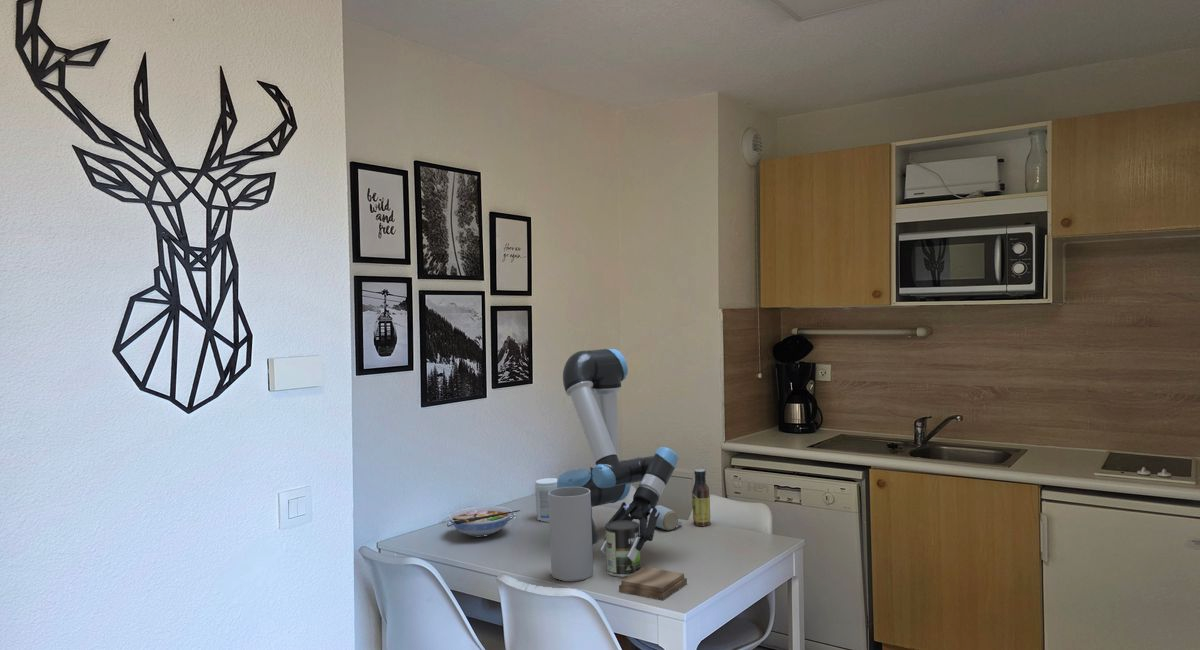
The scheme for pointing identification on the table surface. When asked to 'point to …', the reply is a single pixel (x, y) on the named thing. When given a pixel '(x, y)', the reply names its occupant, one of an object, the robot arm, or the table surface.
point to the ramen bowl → (480, 519)
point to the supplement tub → (544, 497)
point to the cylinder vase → (570, 533)
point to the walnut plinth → (653, 582)
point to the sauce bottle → (701, 499)
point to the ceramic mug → (667, 518)
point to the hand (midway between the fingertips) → (616, 555)
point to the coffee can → (621, 547)
